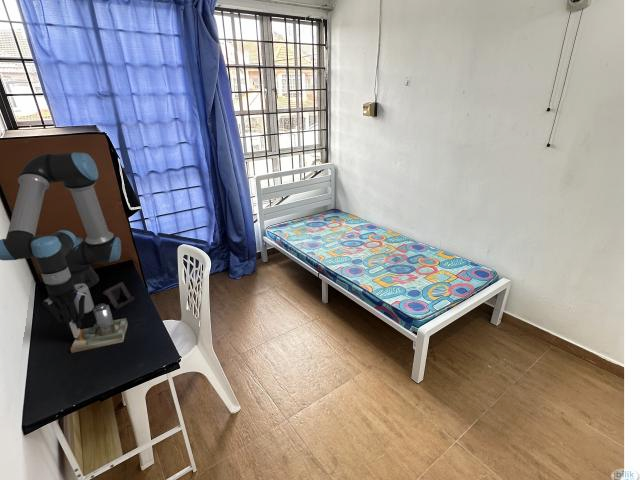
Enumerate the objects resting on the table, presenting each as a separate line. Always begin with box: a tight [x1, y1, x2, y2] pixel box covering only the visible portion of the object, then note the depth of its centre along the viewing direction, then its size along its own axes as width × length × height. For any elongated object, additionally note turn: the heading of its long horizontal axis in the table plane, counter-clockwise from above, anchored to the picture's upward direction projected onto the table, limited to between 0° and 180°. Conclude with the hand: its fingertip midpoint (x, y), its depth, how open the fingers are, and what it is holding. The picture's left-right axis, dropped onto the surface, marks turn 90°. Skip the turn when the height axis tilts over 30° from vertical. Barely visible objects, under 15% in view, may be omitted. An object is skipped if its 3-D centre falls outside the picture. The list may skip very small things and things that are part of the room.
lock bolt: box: [78, 328, 97, 341], centre depth 125 cm, size 4×5×2 cm
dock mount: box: [70, 318, 129, 354], centre depth 126 cm, size 12×16×4 cm
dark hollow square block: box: [102, 281, 135, 311], centre depth 147 cm, size 9×8×8 cm
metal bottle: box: [92, 302, 116, 336], centre depth 125 cm, size 5×5×12 cm
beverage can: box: [74, 283, 95, 315], centre depth 141 cm, size 6×6×12 cm
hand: (77, 335), depth 123 cm, fingers closed
